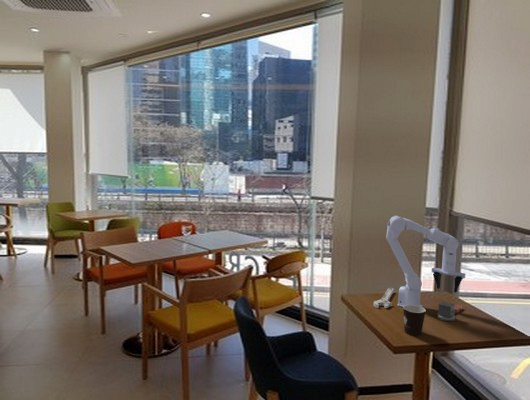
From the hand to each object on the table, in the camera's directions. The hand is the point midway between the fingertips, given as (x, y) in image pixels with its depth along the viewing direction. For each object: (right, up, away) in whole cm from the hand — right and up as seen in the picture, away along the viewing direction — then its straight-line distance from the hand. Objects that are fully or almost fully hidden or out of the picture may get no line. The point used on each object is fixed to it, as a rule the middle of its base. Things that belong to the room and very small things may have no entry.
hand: (446, 290), depth 194 cm
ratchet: (0, -10, -4) cm, 11 cm away
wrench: (-21, -7, +12) cm, 25 cm away
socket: (-5, -9, -10) cm, 14 cm away
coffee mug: (-24, -12, -24) cm, 36 cm away
